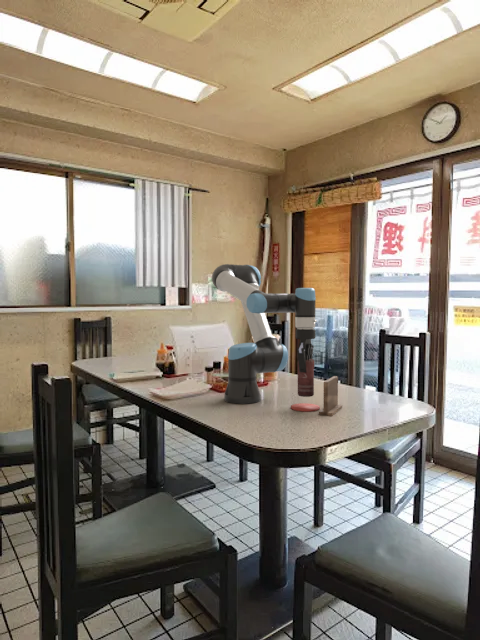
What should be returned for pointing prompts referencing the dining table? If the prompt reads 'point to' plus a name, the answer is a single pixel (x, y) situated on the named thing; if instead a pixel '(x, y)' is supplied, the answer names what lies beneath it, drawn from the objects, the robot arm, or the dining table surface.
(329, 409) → the screen
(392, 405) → the dining table surface
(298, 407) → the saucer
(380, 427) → the dining table surface
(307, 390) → the can
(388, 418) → the dining table surface
